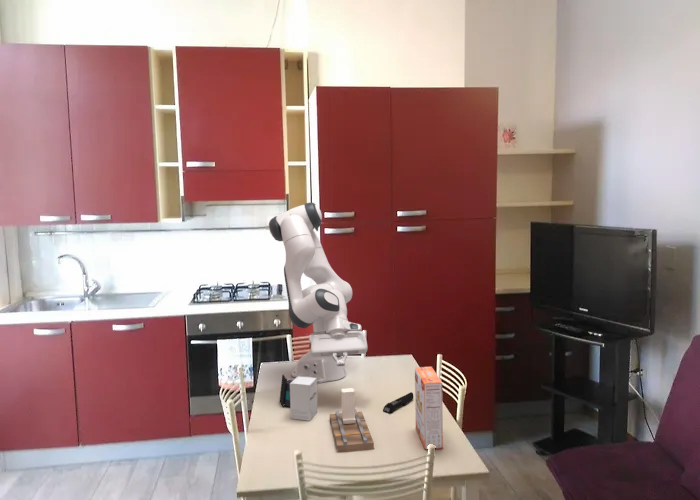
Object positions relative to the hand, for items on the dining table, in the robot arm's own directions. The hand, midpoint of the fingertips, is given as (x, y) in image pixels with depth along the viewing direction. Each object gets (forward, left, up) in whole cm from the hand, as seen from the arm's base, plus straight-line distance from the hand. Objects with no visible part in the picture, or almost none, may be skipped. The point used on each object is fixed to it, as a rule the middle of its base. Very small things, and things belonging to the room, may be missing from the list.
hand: (340, 365), depth 185 cm
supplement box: (-10, -9, -16) cm, 21 cm away
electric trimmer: (+18, +10, -17) cm, 26 cm away
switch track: (+10, -16, -16) cm, 24 cm away
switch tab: (+7, -12, -14) cm, 19 cm away
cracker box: (+34, -11, -16) cm, 39 cm away
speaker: (-19, -2, -16) cm, 25 cm away
